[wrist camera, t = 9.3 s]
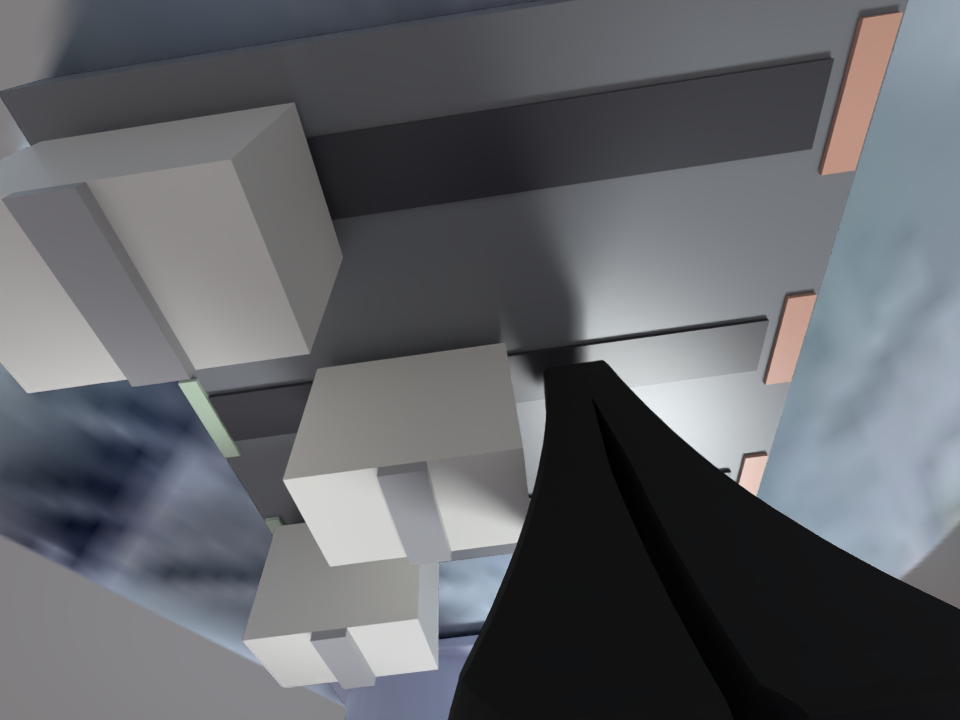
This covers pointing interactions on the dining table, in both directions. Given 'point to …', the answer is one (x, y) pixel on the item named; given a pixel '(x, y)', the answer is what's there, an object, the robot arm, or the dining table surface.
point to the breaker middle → (411, 457)
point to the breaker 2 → (341, 615)
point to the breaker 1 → (162, 250)
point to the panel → (545, 200)
